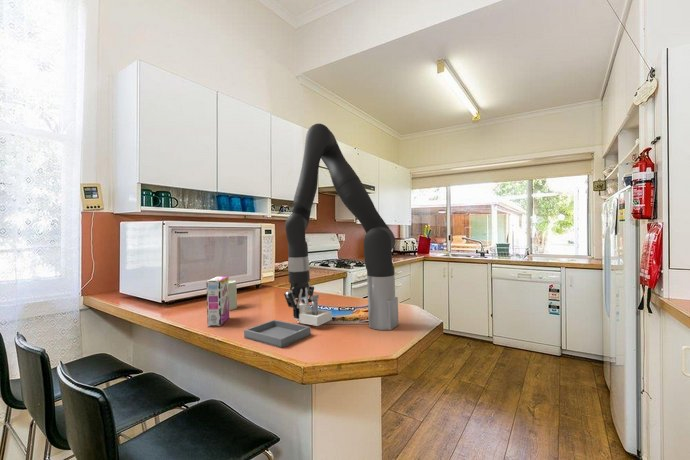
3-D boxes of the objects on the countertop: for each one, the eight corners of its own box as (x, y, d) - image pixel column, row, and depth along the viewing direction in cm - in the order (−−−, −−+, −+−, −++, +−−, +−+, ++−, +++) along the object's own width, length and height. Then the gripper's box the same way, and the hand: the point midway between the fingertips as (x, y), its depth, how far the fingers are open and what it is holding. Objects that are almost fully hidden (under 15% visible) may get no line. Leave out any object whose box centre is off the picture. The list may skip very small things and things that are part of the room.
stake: (320, 323, 111) (319, 295, 110) (315, 326, 108) (313, 296, 108) (316, 323, 112) (315, 294, 112) (310, 325, 109) (309, 296, 109)
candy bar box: (221, 326, 112) (219, 280, 111) (207, 327, 111) (205, 281, 111) (230, 317, 123) (228, 275, 123) (217, 318, 122) (215, 276, 122)
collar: (331, 319, 111) (331, 305, 111) (317, 326, 104) (316, 311, 104) (305, 315, 118) (304, 302, 118) (290, 321, 111) (289, 306, 111)
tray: (310, 334, 100) (310, 326, 100) (281, 348, 89) (281, 339, 89) (274, 326, 109) (274, 319, 109) (244, 337, 99) (243, 330, 99)
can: (242, 306, 139) (241, 279, 139) (224, 312, 131) (223, 283, 131) (228, 304, 144) (227, 278, 144) (210, 309, 136) (209, 282, 136)
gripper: (292, 272, 106) (294, 323, 106) (319, 267, 117) (321, 313, 117) (277, 271, 110) (279, 320, 110) (304, 266, 121) (306, 311, 122)
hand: (300, 316), depth 114 cm, fingers closed on collar, 3 cm apart
